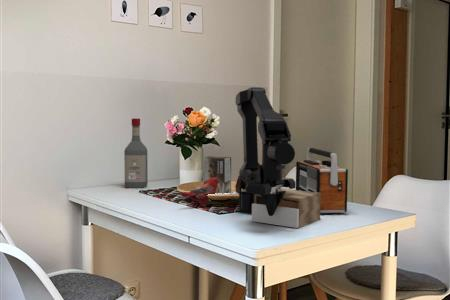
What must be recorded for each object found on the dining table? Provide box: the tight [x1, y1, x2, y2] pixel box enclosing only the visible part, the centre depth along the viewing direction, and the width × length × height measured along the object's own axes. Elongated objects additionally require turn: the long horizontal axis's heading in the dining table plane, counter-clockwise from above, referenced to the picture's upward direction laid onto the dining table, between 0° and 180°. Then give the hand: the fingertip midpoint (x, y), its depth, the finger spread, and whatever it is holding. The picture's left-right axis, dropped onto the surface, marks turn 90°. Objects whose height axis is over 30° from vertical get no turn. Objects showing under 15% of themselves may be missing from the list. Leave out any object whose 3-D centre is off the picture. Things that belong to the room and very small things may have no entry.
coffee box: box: [202, 155, 232, 194], centre depth 183 cm, size 9×6×16 cm
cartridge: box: [278, 199, 298, 209], centre depth 148 cm, size 9×4×5 cm, turn 55°
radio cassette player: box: [295, 147, 349, 215], centre depth 169 cm, size 29×10×20 cm, turn 6°
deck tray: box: [251, 203, 299, 229], centre depth 147 cm, size 14×15×5 cm
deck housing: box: [254, 188, 321, 229], centre depth 148 cm, size 14×15×8 cm
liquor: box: [123, 118, 149, 189], centre depth 213 cm, size 9×9×30 cm
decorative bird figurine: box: [177, 177, 219, 207], centre depth 168 cm, size 3×18×10 cm, turn 129°
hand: (270, 215), depth 140 cm, fingers closed
